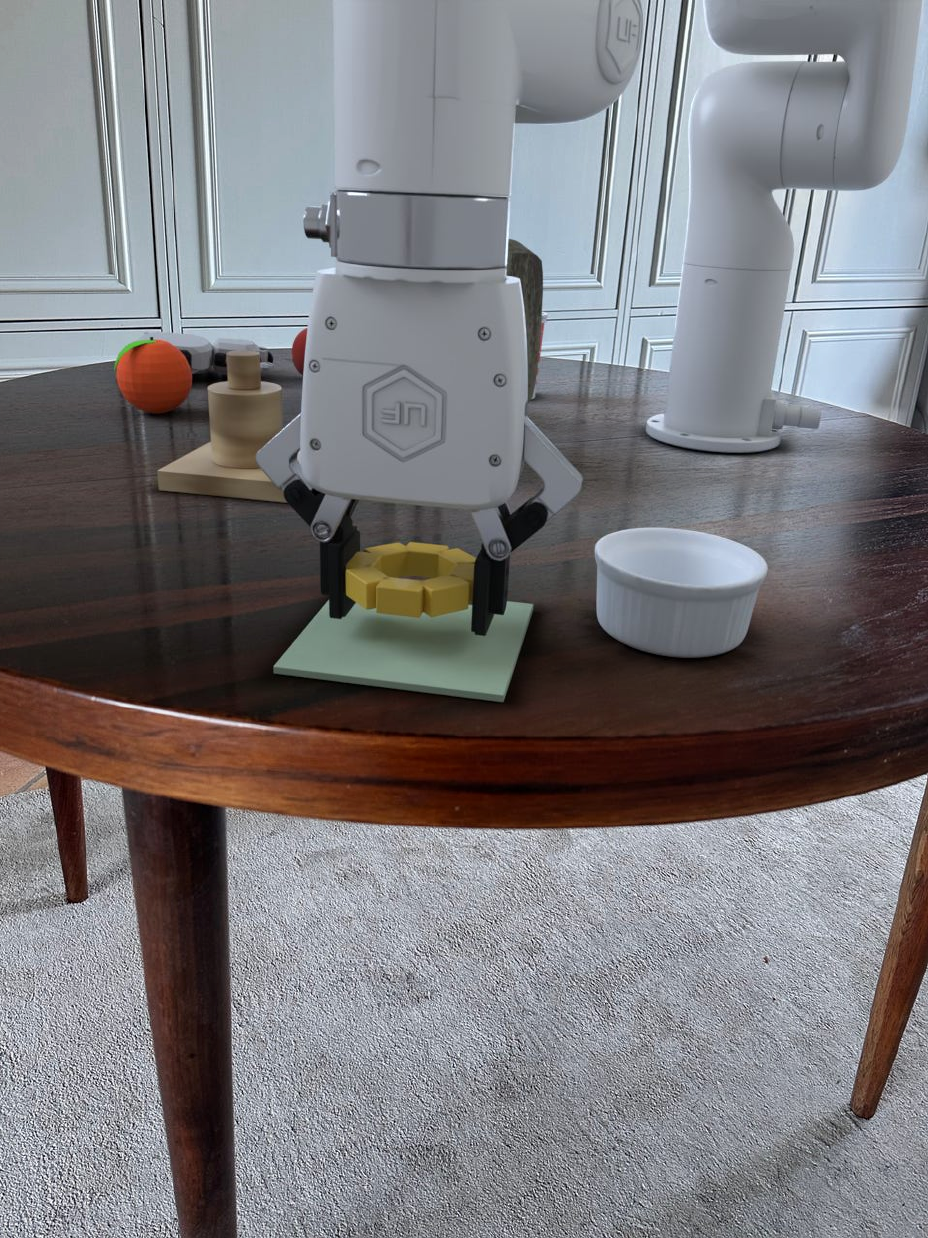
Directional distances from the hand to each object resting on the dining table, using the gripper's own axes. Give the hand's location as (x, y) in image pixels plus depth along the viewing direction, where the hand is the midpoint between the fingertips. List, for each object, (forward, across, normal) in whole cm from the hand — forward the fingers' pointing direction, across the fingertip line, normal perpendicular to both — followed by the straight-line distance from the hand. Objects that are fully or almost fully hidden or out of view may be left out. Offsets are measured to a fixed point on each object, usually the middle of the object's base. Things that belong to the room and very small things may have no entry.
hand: (413, 614), depth 50 cm
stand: (+1, -19, +25) cm, 32 cm away
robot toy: (+2, -39, +62) cm, 73 cm away
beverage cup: (+1, -4, +65) cm, 65 cm away
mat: (+1, 0, 0) cm, 1 cm away
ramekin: (+2, +13, +5) cm, 14 cm away
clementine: (+2, -36, +43) cm, 56 cm away
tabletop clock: (+2, -5, +35) cm, 35 cm away
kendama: (+1, -21, +67) cm, 70 cm away
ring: (-1, 0, 0) cm, 1 cm away
